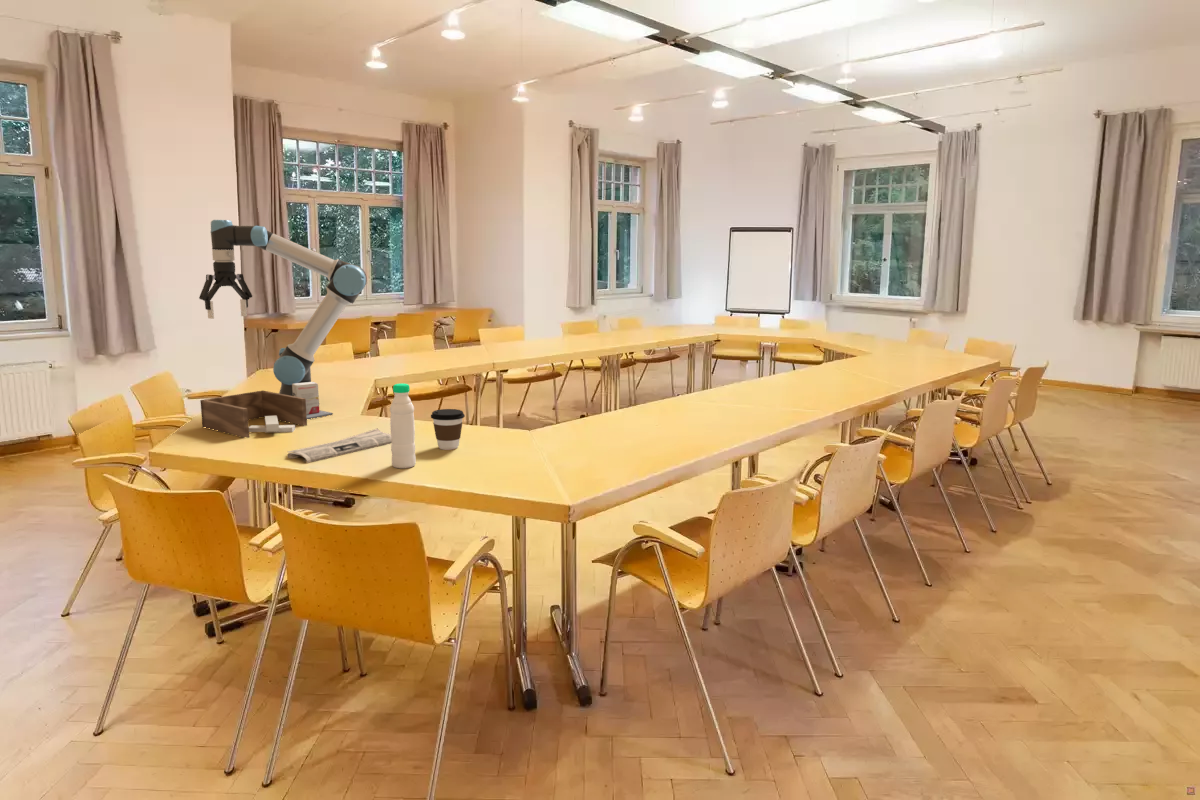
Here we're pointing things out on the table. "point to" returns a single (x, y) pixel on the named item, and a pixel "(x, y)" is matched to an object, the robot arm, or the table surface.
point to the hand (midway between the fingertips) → (227, 317)
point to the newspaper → (342, 446)
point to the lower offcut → (263, 429)
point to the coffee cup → (447, 427)
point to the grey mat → (318, 414)
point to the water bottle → (402, 428)
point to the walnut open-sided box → (250, 410)
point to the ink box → (308, 395)
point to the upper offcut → (271, 423)
